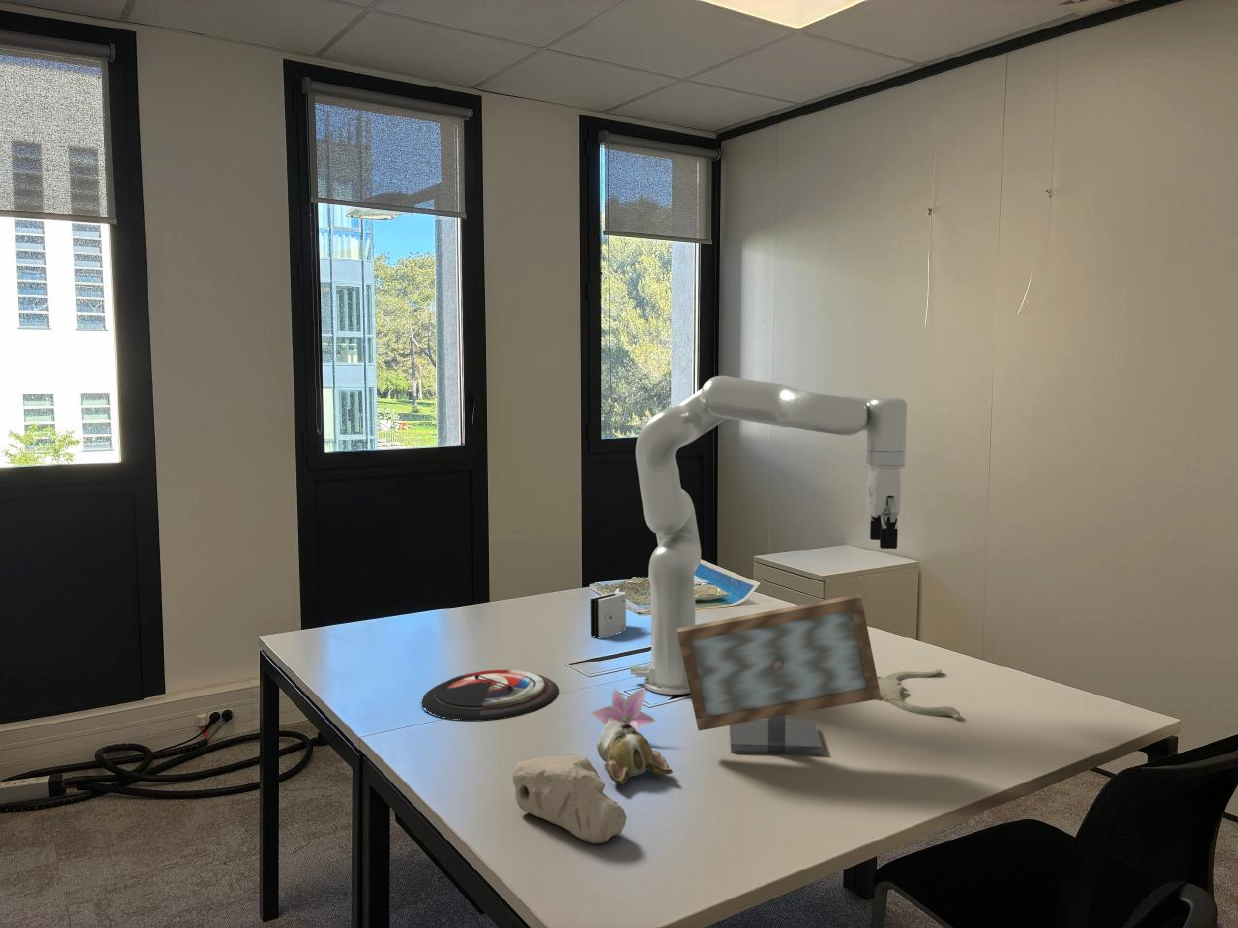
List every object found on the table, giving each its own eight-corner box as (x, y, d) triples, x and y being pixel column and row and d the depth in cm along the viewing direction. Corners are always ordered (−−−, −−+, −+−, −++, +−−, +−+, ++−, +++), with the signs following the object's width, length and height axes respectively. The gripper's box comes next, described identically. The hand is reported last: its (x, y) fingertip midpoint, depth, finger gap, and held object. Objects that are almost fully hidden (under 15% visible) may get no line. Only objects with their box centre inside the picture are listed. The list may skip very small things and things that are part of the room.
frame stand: (731, 752, 167) (731, 648, 165) (729, 726, 179) (729, 629, 177) (822, 754, 165) (823, 649, 163) (814, 728, 177) (815, 630, 175)
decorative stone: (504, 810, 146) (503, 748, 145) (540, 794, 151) (539, 734, 150) (597, 855, 132) (597, 787, 131) (633, 835, 137) (633, 770, 136)
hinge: (617, 624, 251) (617, 588, 250) (634, 627, 248) (634, 590, 247) (588, 637, 239) (587, 598, 238) (605, 640, 237) (605, 601, 236)
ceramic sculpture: (637, 703, 167) (677, 738, 153) (637, 749, 168) (676, 787, 155) (582, 713, 162) (617, 749, 149) (582, 760, 164) (617, 800, 150)
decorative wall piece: (803, 716, 186) (962, 725, 180) (803, 701, 186) (962, 710, 180) (804, 668, 216) (941, 674, 210) (804, 655, 216) (941, 661, 210)
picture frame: (698, 731, 164) (676, 632, 162) (698, 725, 167) (677, 628, 165) (882, 699, 160) (861, 597, 159) (879, 693, 163) (858, 593, 162)
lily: (586, 738, 176) (581, 707, 171) (627, 704, 182) (623, 673, 177) (628, 771, 169) (624, 740, 164) (668, 735, 175) (666, 703, 170)
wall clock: (504, 677, 217) (393, 702, 195) (505, 657, 217) (393, 680, 195) (585, 703, 199) (473, 734, 177) (586, 681, 199) (474, 710, 176)
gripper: (858, 455, 196) (856, 536, 198) (875, 463, 179) (873, 552, 180) (894, 455, 195) (892, 536, 197) (915, 464, 178) (912, 552, 180)
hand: (883, 543), depth 189 cm, fingers open, 9 cm apart
